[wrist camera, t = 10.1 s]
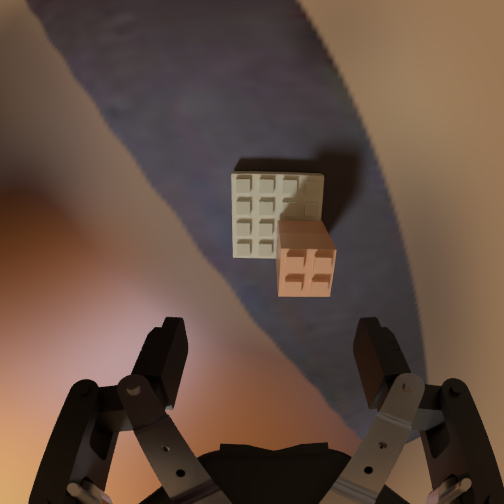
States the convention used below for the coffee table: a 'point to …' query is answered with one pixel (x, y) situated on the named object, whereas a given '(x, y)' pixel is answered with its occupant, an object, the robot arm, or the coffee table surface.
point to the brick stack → (304, 259)
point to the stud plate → (270, 207)
